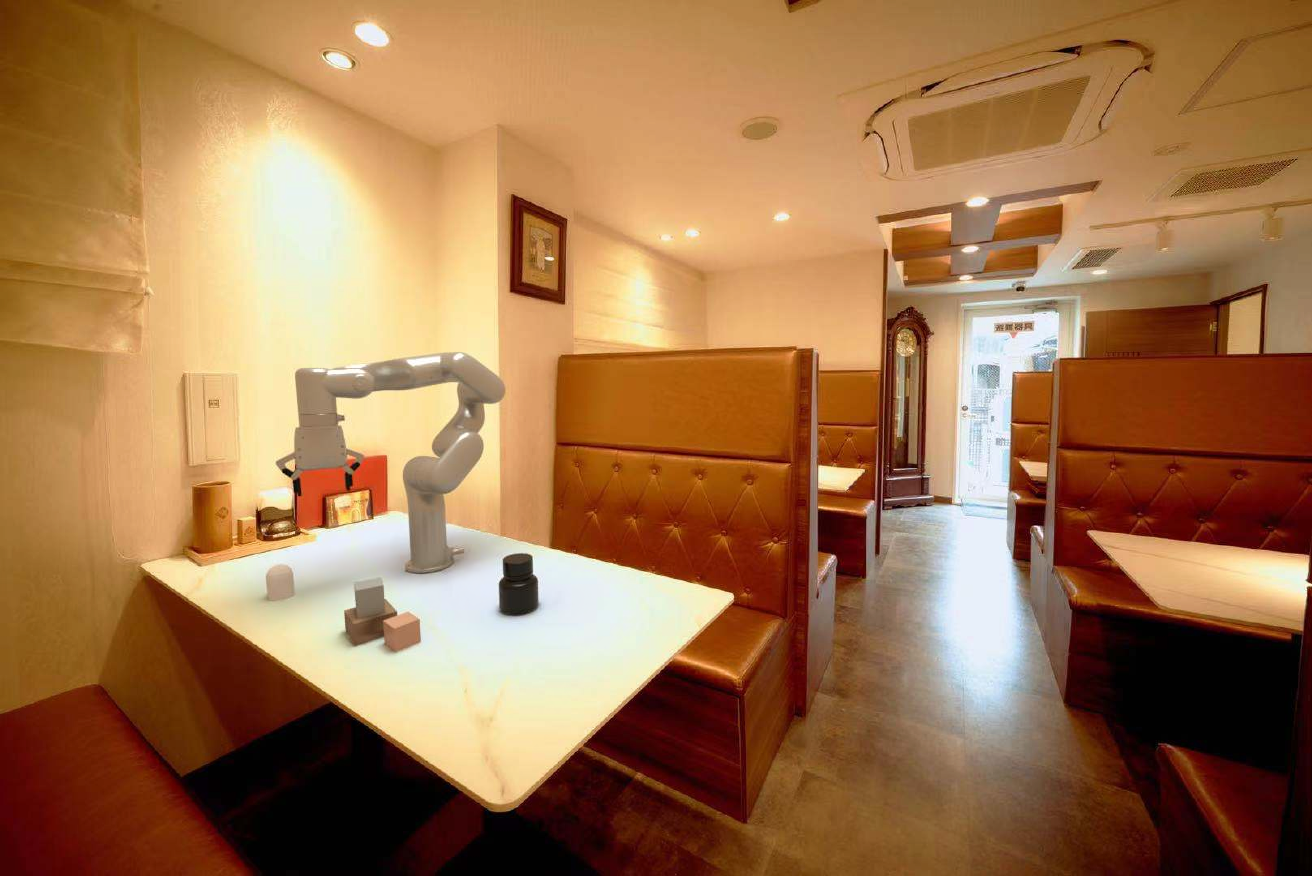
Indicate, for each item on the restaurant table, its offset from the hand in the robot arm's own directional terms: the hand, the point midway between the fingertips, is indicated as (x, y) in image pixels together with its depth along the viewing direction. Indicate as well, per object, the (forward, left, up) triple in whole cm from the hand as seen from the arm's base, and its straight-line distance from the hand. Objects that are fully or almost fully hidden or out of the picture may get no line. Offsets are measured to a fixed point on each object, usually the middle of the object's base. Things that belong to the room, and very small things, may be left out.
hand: (324, 492), depth 117 cm
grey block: (-5, +24, -22) cm, 33 cm away
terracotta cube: (-10, +33, -26) cm, 43 cm away
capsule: (+10, -8, -26) cm, 29 cm away
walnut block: (-5, +24, -27) cm, 36 cm away
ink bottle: (-35, +32, -26) cm, 54 cm away
